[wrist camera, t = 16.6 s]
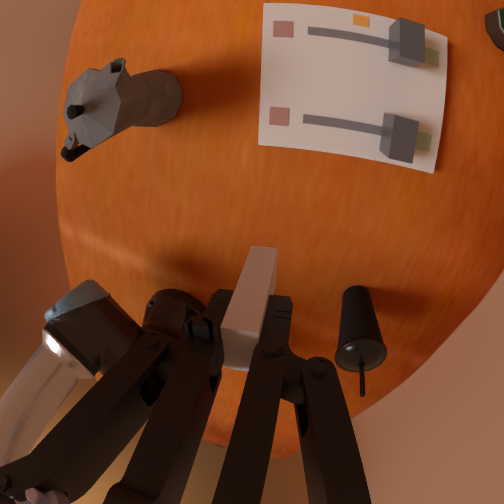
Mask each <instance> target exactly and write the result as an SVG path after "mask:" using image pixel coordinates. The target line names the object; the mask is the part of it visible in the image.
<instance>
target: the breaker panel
mask: <svg viewBox="0 0 504 504" xmlns="http://www.w3.org/2000/svg"><path fill="white" fill-rule="evenodd" d="M395 21H396V20H395V19H391V18H387V17H383V16H379V15H374V14H370V13H365V12H360V11H354V10H349V9H342V8H335V7H328V6H319V5H307V4H291V3H264V8H263V35H262V61H261V87H260V112H259V137H258V145H268V146H279V147H289V148H298V149H307V150H315V151H322V152H329V153H336V154H342V155H348V156H354V157H360V158H365V159H371V160H376V161H381V162H386V163H390V164H395V165H400V166H404V167H408V168H412V169H417V170H421V171H425V172H428V173H432V174H433V173H434V168H435V163H436V158H437V153H438V147H439V141H440V135H441V128H442V121H443V113H444V104H445V93H446V79H447V37H445V36H443V35H440V34H438V33H435V32H432V31H430V30H427V29H425V64H421V65H417V66H413V67H408V66H405V65H401V64H398V63H394V62H390V61H388V58H389V27H390V26H391V25H392V24H393V23H394V22H395ZM384 113H388V114H392V115H396V116H401V117H404V118H408V119H412V120H415V121H419V126H418V133H417V140H416V146H415V152H414V158H413V163H412V164H411V163H406V162H402V161H398V160H393V159H389V158H387V157H386V156H385V155H384V154H383V153H382V152H381V151H380V150H379V147H380V140H381V133H382V125H383V117H384Z"/></svg>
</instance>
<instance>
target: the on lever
mask: <svg viewBox="0 0 504 504" xmlns="http://www.w3.org/2000/svg"><path fill="white" fill-rule="evenodd" d="M418 126H419V121H415V120H412V119H408V118H404V117H401V116H396V115H392V114H388V113H384V117H383V125H382V133H381V140H380V147H379V150H380V151H381V152H382V153H383V154H384V155H385V156H386V157H387V158H389V159H393V160H398V161H402V162H406V163H411V164H412V163H413V158H414V152H415V146H416V140H417V133H418Z"/></svg>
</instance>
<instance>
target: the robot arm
mask: <svg viewBox="0 0 504 504" xmlns="http://www.w3.org/2000/svg"><path fill="white" fill-rule="evenodd" d="M277 255H278V248H272V247H262V246H251V249H250V252H249V254H248V257H247V259H246V262H245V265H244V267H243V270H242V272H241V275H240V278H239V280H238V283H237V285H236V288H235V291H232V290H225V289H219V290H218V291H216V292H215V293H214V294H213V295H212V297H211V299H210V301H209V304H208V306H207V309H206V308H205V307H204V306H203V305H202V304H201V303H200V302H199V301H197V300H196V299H195V298H193V297H191V296H190V295H188V294H186V293H183V292H180V291H177V290H170V289H166V290H160V291H158V292H156V293H155V294H154V295H153V296H152V298H151V299H150V300H149V302H148V304H147V306H146V310H145V315H144V319H143V323H142V327H140V326H139V325H138V324H137V323H136V322H135V321H134V320H133V319H132V318H131V317H130V316H129V315H128V314H127V313H126V312H125V311H124V310H123V309H122V308H121V307H120V306H119V305H118V304H117V302H116V301H115V300H114V299H113V298H112V297H111V295H110V293H107V292H106V291H105V290H104V289H103V288H102V287H101V286H100V285H99V284H98V283H97V282H96V281H94V280H86V281H84V282H82V283H81V284H79V285H78V286H77V287H75V288H74V289H73V290H71V291H70V292H69V293H67V294H66V295H65V296H64V297H63V298H61V299H60V300H59V301H58V302H57V303H56V304H55V305H53V306H52V307H51V308H50V309H49V310H48V311H47V312H46V313H45V319H46V321H47V322H48V324H47V325H46V326H45V327H44V328H43V330H42V333H43V343H42V345H41V346H40V347H39V348H38V350H37V351H36V352H35V353H34V355H33V356H32V357H31V359H30V360H29V361H28V362H27V364H26V365H25V366H24V368H23V369H22V370H21V372H20V373H19V374H18V376H17V377H16V378H15V380H14V381H13V383H12V384H11V385H10V387H9V388H8V390H7V391H6V392H5V394H4V395H3V397H2V398H1V400H0V504H70V503H72V502H74V501H76V500H78V499H79V498H80V497H82V496H83V495H84V494H85V493H86V492H87V491H88V490H89V489H90V488H91V487H92V486H93V485H94V484H95V482H96V481H97V480H98V479H99V478H100V477H101V475H102V474H103V473H104V472H105V471H106V469H107V468H108V467H109V466H110V465H111V463H112V462H113V461H114V460H115V459H116V457H117V456H118V455H119V454H120V452H121V451H122V450H123V449H124V448H125V447H126V445H127V444H128V443H129V442H130V440H131V439H132V438H133V437H134V436H135V434H136V433H137V432H138V431H139V429H140V428H141V427H142V426H143V425H144V423H145V422H146V421H147V420H148V422H147V424H146V426H145V428H144V430H143V433H142V435H141V437H140V439H139V442H138V444H137V446H136V448H135V451H134V453H133V455H132V457H131V460H130V462H129V464H128V467H127V469H126V472H125V474H124V476H123V478H122V480H121V481H120V482H118V483H116V484H114V485H113V486H112V487H111V488H110V489H109V491H108V493H107V495H106V498H105V500H104V502H103V504H180V501H181V498H182V496H183V493H184V489H185V487H186V484H187V481H188V478H189V475H190V472H191V469H192V465H193V463H194V460H195V457H196V454H197V451H198V448H199V445H200V442H201V439H202V436H203V433H204V430H205V427H206V423H207V420H208V417H209V414H210V411H211V408H212V405H213V402H214V399H215V396H216V393H217V390H218V387H219V384H220V380H221V377H222V371H221V369H222V366H223V363H224V367H225V368H230V369H236V370H242V371H248V375H247V379H246V382H245V386H244V390H243V394H242V398H241V402H240V405H239V409H238V413H237V417H236V420H235V424H234V428H233V431H232V435H231V439H230V442H229V446H228V449H227V453H226V456H225V460H224V464H223V468H222V471H221V474H220V477H219V481H218V485H217V488H216V491H215V495H214V498H213V501H212V504H260V502H261V497H262V493H263V488H264V483H265V479H266V474H267V468H268V464H269V459H270V454H271V448H272V443H273V438H274V432H275V427H276V421H277V415H278V409H279V403H280V398H282V399H284V400H287V401H289V402H291V403H294V408H295V415H296V421H297V427H298V433H299V439H300V446H301V452H302V459H303V465H304V472H305V478H306V485H307V492H308V498H309V504H371V499H370V495H369V490H368V486H367V481H366V477H365V473H364V469H363V465H362V461H361V457H360V453H359V449H358V445H357V442H356V438H355V434H354V431H353V427H352V423H351V419H350V416H349V412H348V409H347V405H346V402H345V398H344V395H343V391H342V388H341V385H340V381H339V378H338V375H337V371H336V368H335V366H334V364H333V363H332V362H331V361H330V360H328V359H326V358H323V357H313V358H310V359H308V360H305V359H303V358H300V357H298V356H296V355H295V354H294V353H293V352H292V351H291V350H290V348H289V345H288V340H289V332H290V324H291V316H292V307H293V303H292V301H291V299H290V297H286V296H278V295H274V290H275V283H276V269H277ZM98 371H99V372H100V373H101V374H102V375H104V376H103V377H102V378H101V379H100V380H99V381H98V382H97V383H96V384H95V385H94V386H93V387H92V388H91V389H90V390H89V391H88V392H87V393H86V394H85V395H84V396H83V397H82V399H81V400H80V401H79V402H78V403H77V404H76V405H75V406H74V407H73V408H72V409H71V410H70V411H69V412H68V413H67V414H66V415H65V417H63V419H62V420H61V421H60V422H59V423H58V424H57V425H56V426H55V427H54V428H53V429H52V430H51V431H50V432H49V434H48V435H47V436H46V437H45V438H44V439H43V440H42V441H41V442H40V443H39V444H38V445H37V446H36V448H35V449H34V450H33V451H32V452H31V453H30V454H29V452H30V451H31V449H32V448H33V446H34V445H35V443H36V442H37V440H38V439H39V437H40V436H41V434H42V433H43V431H44V430H45V428H46V427H47V425H48V424H49V422H50V421H51V420H52V418H53V417H54V415H55V414H56V412H57V411H58V409H59V408H60V406H61V405H62V404H63V402H64V401H65V400H66V398H67V397H68V396H69V394H70V393H71V392H72V390H73V388H74V387H75V386H76V385H77V383H78V382H79V381H80V380H81V379H90V378H93V377H94V376H95V375H96V373H97V372H98ZM148 418H149V419H148ZM28 454H29V455H28Z"/></svg>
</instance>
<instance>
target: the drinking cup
mask: <svg viewBox="0 0 504 504" xmlns="http://www.w3.org/2000/svg"><path fill="white" fill-rule="evenodd" d="M386 356H387V348H386V346H385V344H384V343H383V340H382V336H381V332H380V329H379V325H378V321H377V318H376V315H375V311H374V308H373V304H372V301H371V298H370V295H369V292H368V290H367V289H366V288H364V287H362V286H352V287H350V288H348V289H347V290H346V291H345V292H344V294H343V299H342V311H341V321H340V331H339V340H338V348H337V351H336V353H335V362H336V364H337V366H338V367H340V368H341V369H343V370H345V371H348V372H359V374H360V396H361V397H363V396H365V377H364V372H365V371H369V370H372V369H374V368H376V367H378V366H379V365H381V364H382V363H383V362H384V360H385V359H386Z"/></svg>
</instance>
